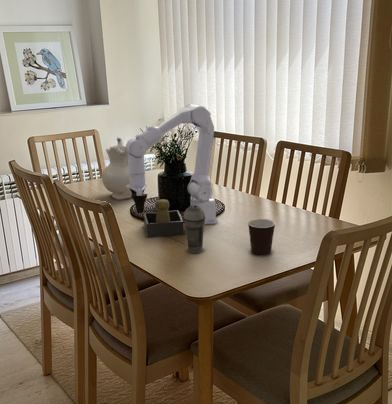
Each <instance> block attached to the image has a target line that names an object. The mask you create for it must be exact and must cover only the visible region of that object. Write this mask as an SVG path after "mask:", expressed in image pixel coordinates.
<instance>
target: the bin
mask: <svg viewBox="0 0 392 404" xmlns="http://www.w3.org/2000/svg"><path fill="white" fill-rule="evenodd" d="M168 211H169V217H170V222H163V223H156V215H157V211H153V212H143V225H144V230H145V234H146V237H147V238H158V237H167V236H168V237H169V236H179V235H180V236H181V235H184V234H185V230H184V229H185V228H184V226H185V224H184V219H183V217H182V216H181V213H180V211H179V210H178V209H177V210H168Z"/></svg>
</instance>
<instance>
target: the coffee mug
mask: <svg viewBox="0 0 392 404" xmlns="http://www.w3.org/2000/svg"><path fill="white" fill-rule="evenodd" d="M275 226H276V222H275V221H273V220H271V219H267V218H255V219H251V220H249V221H248V234H249V242H250V243H249V244H250V252H251V253H252V254H253V255H255V256H260V257H261V256H263V257H264V256H268V255H270V254H271V253H272V246H273V239H274V234H275V233H274V232H275V228H276V227H275Z"/></svg>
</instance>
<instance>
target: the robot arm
mask: <svg viewBox="0 0 392 404" xmlns="http://www.w3.org/2000/svg"><path fill="white" fill-rule="evenodd" d="M181 124H192V125H193V126H194V127H195V128H196V130H198V138H197V148H196V156H195V163H194V164H195V165H194V171H193V174H192V175H191V177H190V181H189V183H188V185H187V193H188V194H190V198H189V199H190V206H192V195H191V192H193V201H194V206H198V207H200V208H201V209H202V210H203V211H204V214H205V223H204V225H212V224H213V225H214V224H217V205H216V200H215V198H213V197H212V195H213V189H212V181H211V178H210V176H209V175H210V166H211V160H212V159H211V158H212V150H213V143H214V134H215V125H214V122H213V120H212V117H211V112H210V111H209V110H208V109H207V108H206V107H205V106H203V105H197V104H195V103H188V104H187V105H185V106H183V107H181V108H180V109H179V110H178V111H176V112H175V113H174V114H173V115H171V116H170V117H168V118H167V119H166V120H164V121H163V122H162V123H160V124H159V125H158V126H155V125H152V126H147V127H146V130H144V131H143V132H141V133H140V134H136V135H135V138H134V137H133V138H130V139H129V140H127V141H126V144H125V150H126V152H127V153H128V165H129V180H130V185H127V188H130V191H131V192H132V194H131V196H132V197H131V198H132V200H133V202H134V205H135V210H136V213H137V214H144V211H145V203H146V200H147V197H148V193H144V192H145V190H146V188H147V182H146V165H145V155H146V153H147V150H149V149H151V148H152V147H154V146H155V145H157V144H158V143H160V142H161V141H162V140H163V136H164V135H165V134H166V133H169V132H170V131H172V130H173V129H175V128H176V127H178V126H181Z"/></svg>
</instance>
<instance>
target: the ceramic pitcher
mask: <svg viewBox="0 0 392 404" xmlns="http://www.w3.org/2000/svg"><path fill="white" fill-rule="evenodd" d="M116 141H117V145H113V146H109V148H106V149H105V152H106V154H107V156H108V159H109V164H108V165H107V166H106V167H105V168H104V169H103V170H102V172H101V182H102V184H103V186H104V188H105V189H106V190H107V191H108V192H110V193H112V194H111V197H112V198H113V199H114V200H117V201H119V200H125V199H130V198H132V196H131V194H132V192H131V191H130V188H127V185H130V180H129V165H128V153H127V152H126V150H125V147H126V145H124V141H123V139H122V138H121V137H118V136H117V137H116Z"/></svg>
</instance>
